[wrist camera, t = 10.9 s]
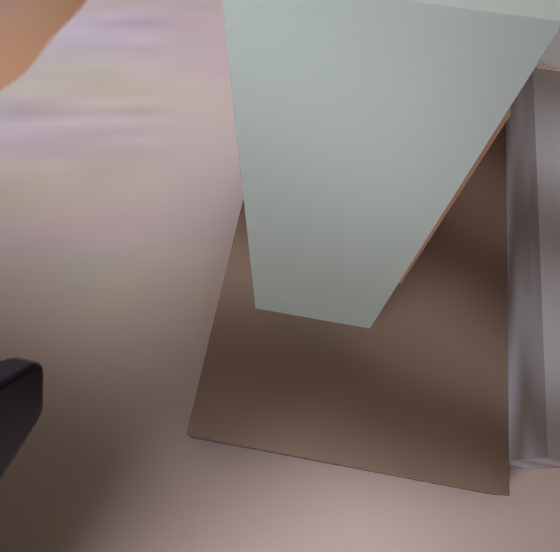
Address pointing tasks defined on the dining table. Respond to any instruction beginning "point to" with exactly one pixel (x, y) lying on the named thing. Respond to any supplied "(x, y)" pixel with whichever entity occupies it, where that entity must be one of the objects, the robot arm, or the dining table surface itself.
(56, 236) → the dining table surface
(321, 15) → the carton
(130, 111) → the dining table surface
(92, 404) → the dining table surface
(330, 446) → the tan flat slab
